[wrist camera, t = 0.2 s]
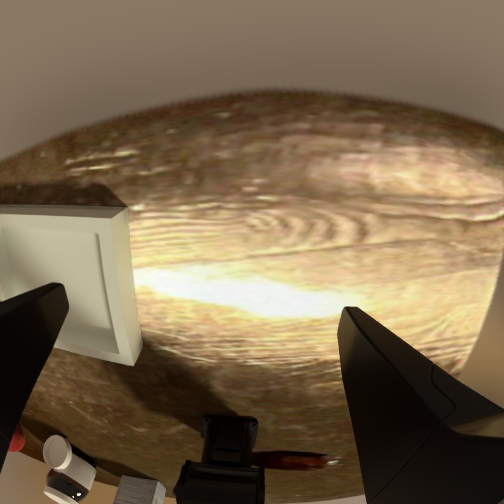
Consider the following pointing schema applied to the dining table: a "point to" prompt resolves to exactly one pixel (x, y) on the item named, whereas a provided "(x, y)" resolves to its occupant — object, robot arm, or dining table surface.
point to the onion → (17, 440)
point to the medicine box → (139, 491)
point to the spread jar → (67, 471)
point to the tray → (76, 272)
